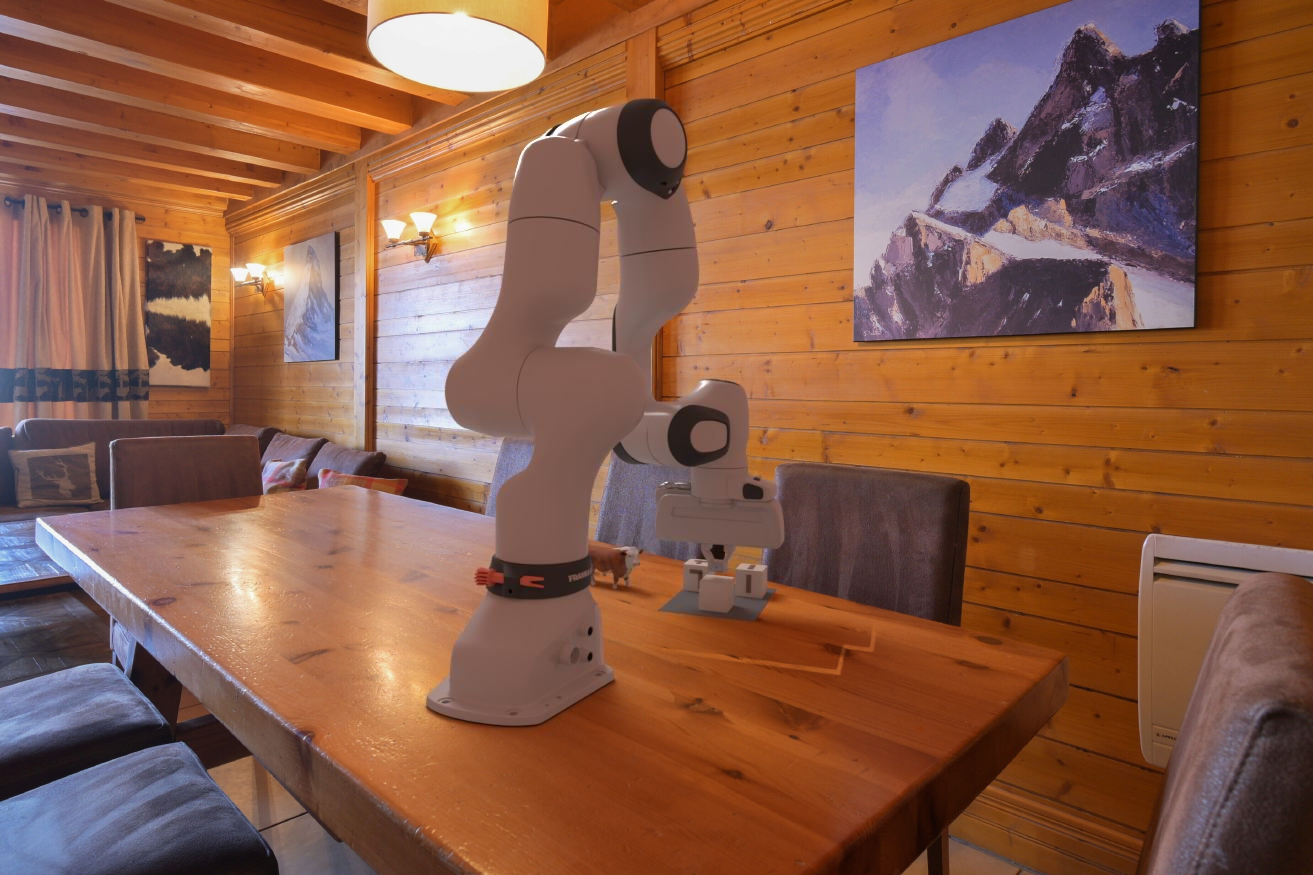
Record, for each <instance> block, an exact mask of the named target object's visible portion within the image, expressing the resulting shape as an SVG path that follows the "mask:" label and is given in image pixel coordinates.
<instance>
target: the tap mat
mask: <svg viewBox="0 0 1313 875" xmlns="http://www.w3.org/2000/svg"><path fill="white" fill-rule="evenodd" d="M776 591H777V588H775V587H767V592H766V593H765V595H764V596H763V598H762V599H761V598H751V597H742V596H735V583H734V605H733V607H732V608H731V609H730V610H729V611H728V613H723V612H714V611H706V610H699V592H695V591H685V590H683V588H682V589H681V590H680V591H679V592H677V593H676V594H675V595H674V596H673V597H671V598H670V599H669V600H668V601H667V602H666V603H665V604H664V605H662V606H661V607H660V608H659V609H657V611H659V612H666V613H673V614H674V613H675V614H683V615H692V616H699V617H708V618H715V619H716V618H718V619H724V620H725V619H726V620H735V621H743V622H750V623H755V622H756V621H757V619H758V618H759V616H760V615H761V613H762V611H763V610H764V609H765V607H766V606H767V605H768V602H769V601H770V600H771V598H772V596H773V595H774V594H775V592H776Z"/></svg>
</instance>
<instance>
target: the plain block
mask: <svg viewBox="0 0 1313 875" xmlns="http://www.w3.org/2000/svg"><path fill="white" fill-rule="evenodd" d="M734 584H735V576H726V575H716V574H715V575H706V576H704V577H703V578H702V579H701V580H700V581H699V610H706V611H714V612H723V613H728V611H729V610H730V609H731V608H732V607H733V605H734Z"/></svg>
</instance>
